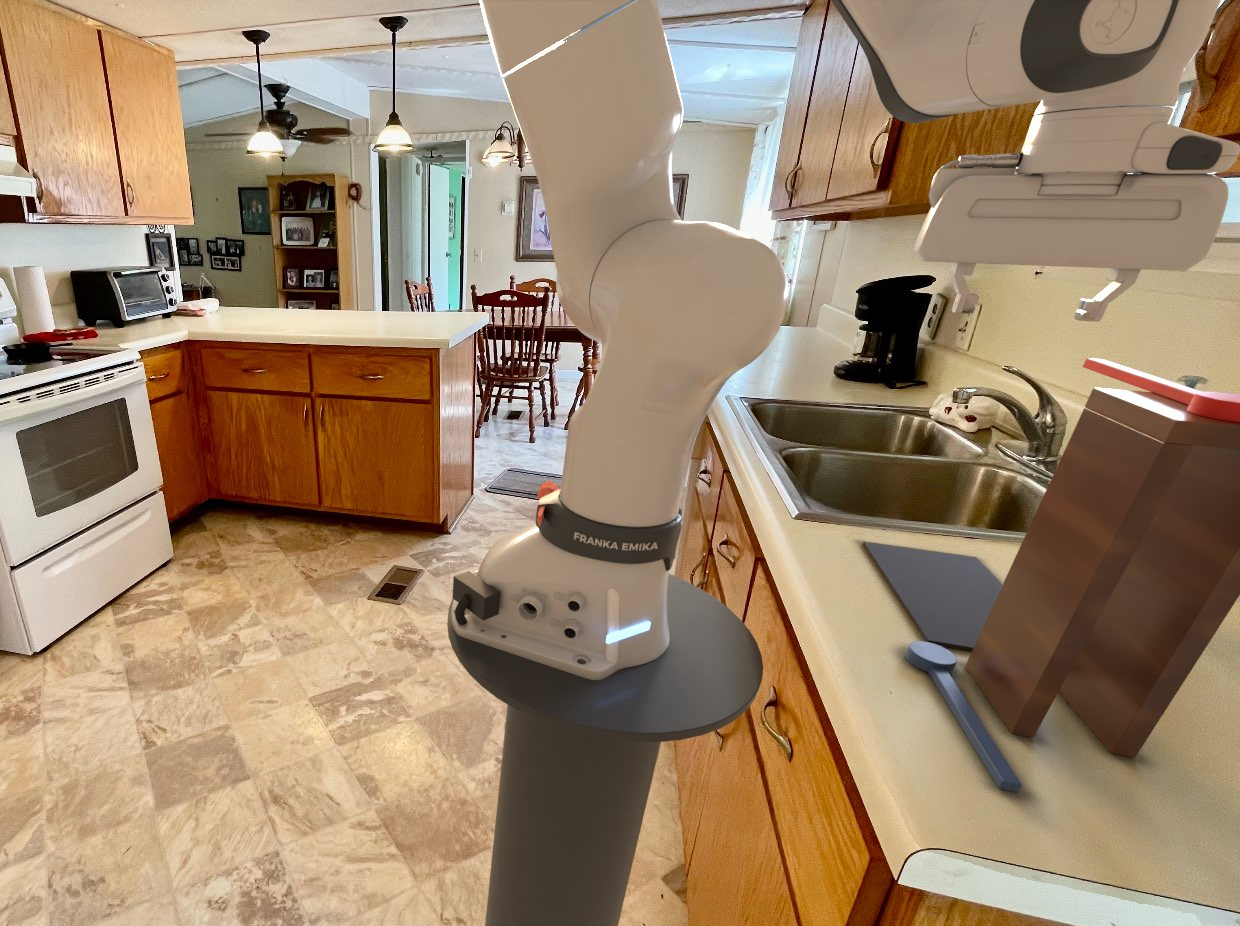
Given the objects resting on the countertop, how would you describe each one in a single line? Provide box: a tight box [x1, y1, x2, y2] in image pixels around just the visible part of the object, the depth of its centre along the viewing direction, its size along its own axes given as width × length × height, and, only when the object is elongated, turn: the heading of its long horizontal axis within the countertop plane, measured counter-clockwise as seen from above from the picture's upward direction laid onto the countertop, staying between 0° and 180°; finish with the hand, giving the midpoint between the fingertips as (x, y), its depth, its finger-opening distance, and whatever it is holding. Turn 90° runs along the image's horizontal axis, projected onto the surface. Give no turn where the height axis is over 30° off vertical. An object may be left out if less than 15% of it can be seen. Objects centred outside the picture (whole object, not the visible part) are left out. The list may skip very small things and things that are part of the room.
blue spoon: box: [905, 640, 1023, 793], centre depth 55 cm, size 17×4×1 cm, turn 162°
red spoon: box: [1082, 357, 1240, 423], centre depth 48 cm, size 17×4×1 cm, turn 162°
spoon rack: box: [964, 387, 1240, 759], centre depth 50 cm, size 8×9×26 cm
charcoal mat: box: [862, 541, 1003, 652], centre depth 71 cm, size 12×22×1 cm, turn 163°
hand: (1022, 316), depth 63 cm, fingers open, 8 cm apart
